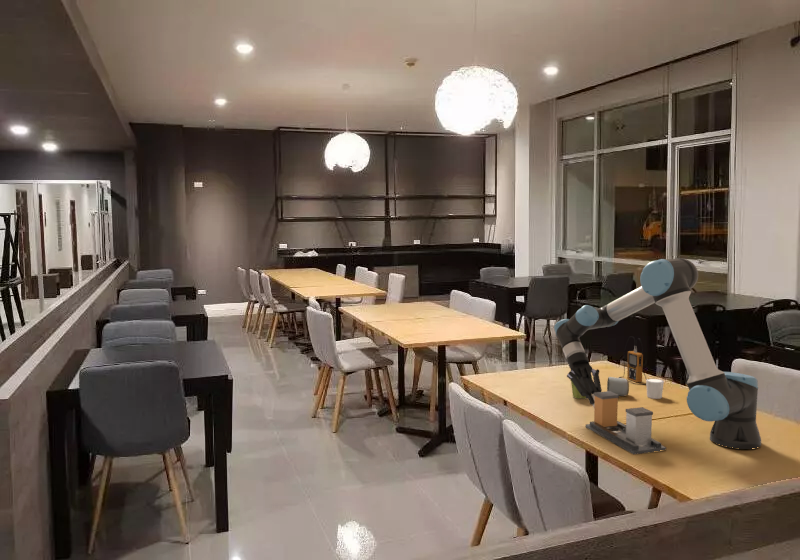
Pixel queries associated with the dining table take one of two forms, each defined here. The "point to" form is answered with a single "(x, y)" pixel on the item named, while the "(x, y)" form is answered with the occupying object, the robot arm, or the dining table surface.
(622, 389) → the ceramic mug
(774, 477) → the dining table surface
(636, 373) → the multimeter
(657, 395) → the tan white cylinder
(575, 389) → the plant pot
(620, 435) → the gray canister tray
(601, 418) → the orange tall block
